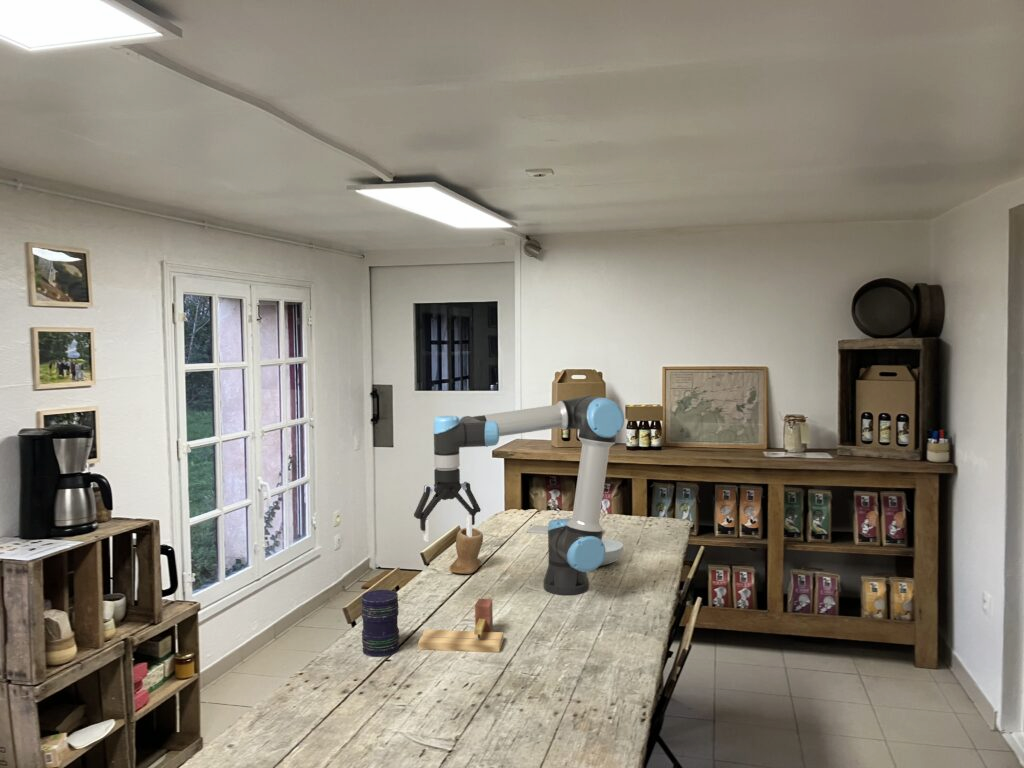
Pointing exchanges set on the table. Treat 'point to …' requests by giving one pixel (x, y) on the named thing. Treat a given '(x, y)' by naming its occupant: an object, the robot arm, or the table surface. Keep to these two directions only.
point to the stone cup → (467, 552)
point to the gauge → (483, 616)
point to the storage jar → (380, 623)
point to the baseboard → (541, 529)
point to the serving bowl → (611, 550)
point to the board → (460, 641)
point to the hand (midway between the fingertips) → (448, 538)
